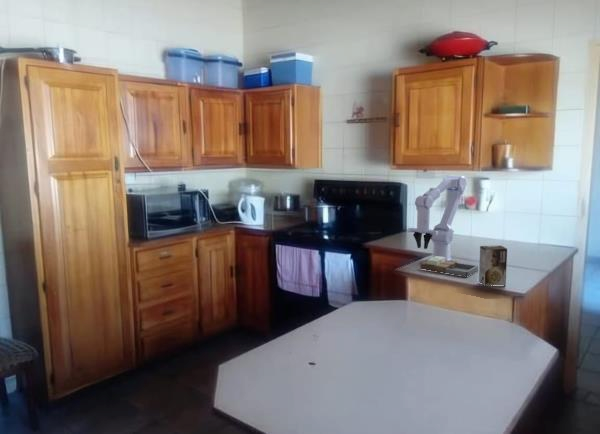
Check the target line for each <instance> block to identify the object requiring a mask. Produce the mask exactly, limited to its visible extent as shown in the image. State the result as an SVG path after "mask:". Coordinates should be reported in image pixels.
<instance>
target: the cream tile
mask: <svg viewBox="0 0 600 434" xmlns="http://www.w3.org/2000/svg"><path fill="white" fill-rule="evenodd" d="M432 258H434V259H441V262H440V263H443V262H445V257H440V256H435V257H433V256H432Z"/></svg>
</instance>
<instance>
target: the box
mask: <svg viewBox="0 0 600 434" xmlns="http://www.w3.org/2000/svg"><path fill="white" fill-rule="evenodd" d="M476 271H477V272H479V266H478V265H475V264H467V263H461V262H457V267H456V268H454V269H447V268H446V273H449V274H454V275H461V276H466V277H467V276H469V275H471V274H472V275H474V274H475V272H476ZM477 272H476V273H477ZM473 273H474V274H473ZM454 275H453V276H454ZM472 275H471V276H472ZM466 277H465V278H466ZM469 277H470V276H469ZM467 278H468V277H467Z"/></svg>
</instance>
